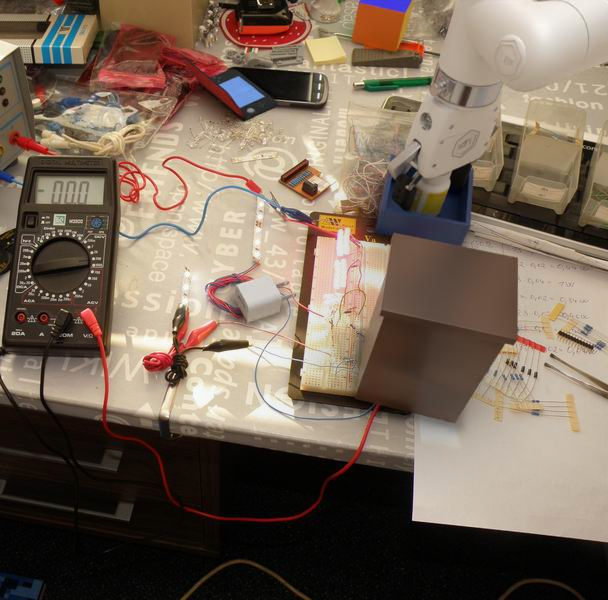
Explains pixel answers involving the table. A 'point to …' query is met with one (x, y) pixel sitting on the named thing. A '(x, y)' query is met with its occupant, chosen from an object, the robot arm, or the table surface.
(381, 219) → the parts bin
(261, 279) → the usb wall charger
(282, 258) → the table surface
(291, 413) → the table surface
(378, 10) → the cube
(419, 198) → the supplement bottle
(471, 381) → the walnut stand
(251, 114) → the handheld console
